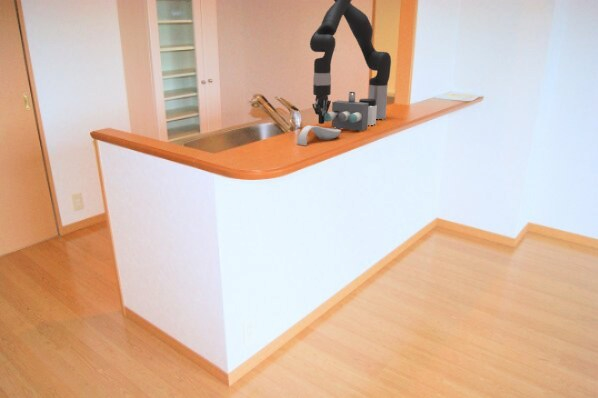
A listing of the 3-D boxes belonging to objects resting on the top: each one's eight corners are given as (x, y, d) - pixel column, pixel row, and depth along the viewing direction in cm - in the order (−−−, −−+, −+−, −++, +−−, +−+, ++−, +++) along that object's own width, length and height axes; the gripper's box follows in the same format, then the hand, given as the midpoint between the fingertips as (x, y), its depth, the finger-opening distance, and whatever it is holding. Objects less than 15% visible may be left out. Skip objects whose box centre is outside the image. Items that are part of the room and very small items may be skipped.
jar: (357, 126, 231) (358, 100, 227) (357, 122, 238) (358, 98, 234) (376, 126, 230) (377, 101, 226) (375, 123, 238) (376, 98, 234)
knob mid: (347, 117, 226) (348, 109, 225) (355, 118, 225) (356, 109, 223) (337, 121, 218) (337, 112, 216) (345, 122, 216) (345, 113, 215)
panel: (337, 125, 231) (338, 100, 227) (367, 128, 224) (368, 103, 220) (331, 127, 227) (332, 102, 223) (361, 131, 219) (363, 104, 215)
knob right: (358, 118, 224) (359, 110, 222) (366, 119, 222) (366, 110, 221) (348, 122, 215) (348, 113, 214) (356, 123, 213) (357, 114, 212)
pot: (350, 101, 224) (350, 91, 223) (356, 101, 223) (356, 91, 221) (347, 102, 222) (347, 92, 220) (353, 102, 220) (353, 92, 219)
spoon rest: (323, 134, 214) (323, 118, 211) (345, 137, 207) (346, 121, 205) (290, 144, 196) (290, 126, 194) (313, 148, 189) (313, 130, 187)
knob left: (333, 117, 226) (333, 109, 225) (341, 118, 224) (341, 110, 223) (322, 121, 217) (322, 112, 216) (330, 122, 215) (330, 113, 214)
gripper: (321, 81, 214) (321, 120, 220) (306, 84, 203) (306, 125, 209) (336, 82, 210) (335, 122, 216) (322, 85, 200) (321, 127, 205)
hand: (321, 123), depth 213 cm, fingers closed
